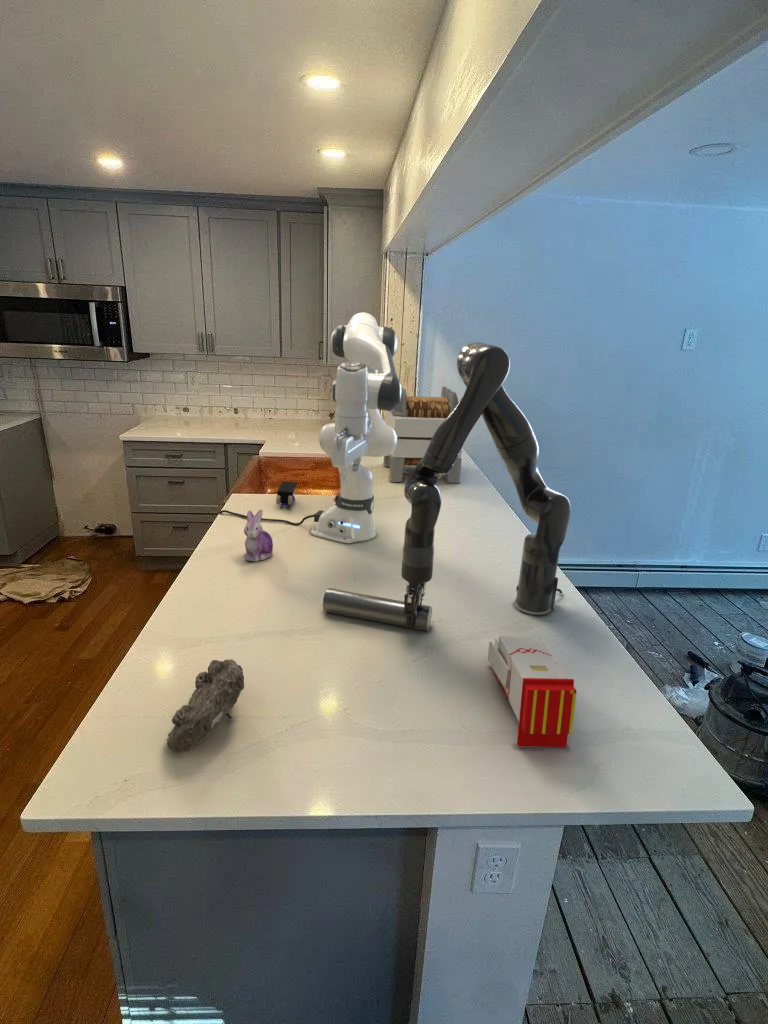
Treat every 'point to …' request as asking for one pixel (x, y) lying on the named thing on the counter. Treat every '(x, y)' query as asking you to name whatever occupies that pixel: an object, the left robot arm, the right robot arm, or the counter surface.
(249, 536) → the figurine
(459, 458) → the transformer
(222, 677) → the fossil
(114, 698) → the counter surface
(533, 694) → the toy
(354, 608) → the rod
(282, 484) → the figurine character
